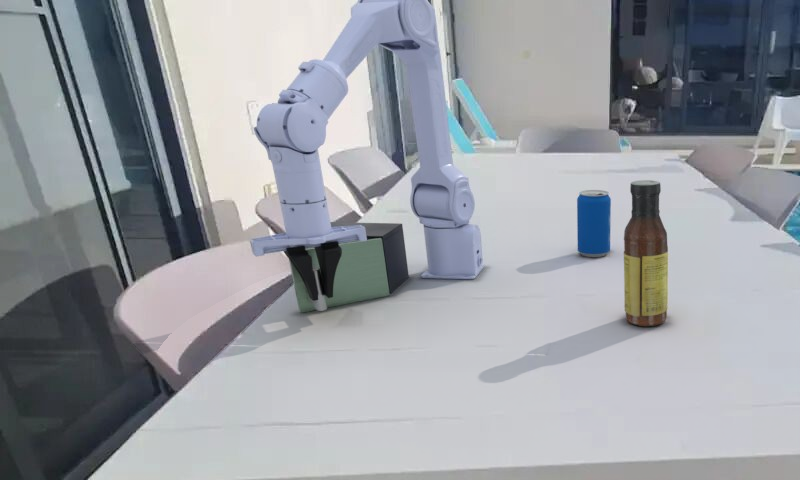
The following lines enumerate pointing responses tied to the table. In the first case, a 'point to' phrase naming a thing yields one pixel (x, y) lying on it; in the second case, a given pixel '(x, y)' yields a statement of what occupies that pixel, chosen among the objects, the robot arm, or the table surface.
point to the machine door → (347, 277)
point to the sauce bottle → (645, 258)
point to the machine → (387, 249)
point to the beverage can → (593, 222)
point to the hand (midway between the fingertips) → (321, 297)
